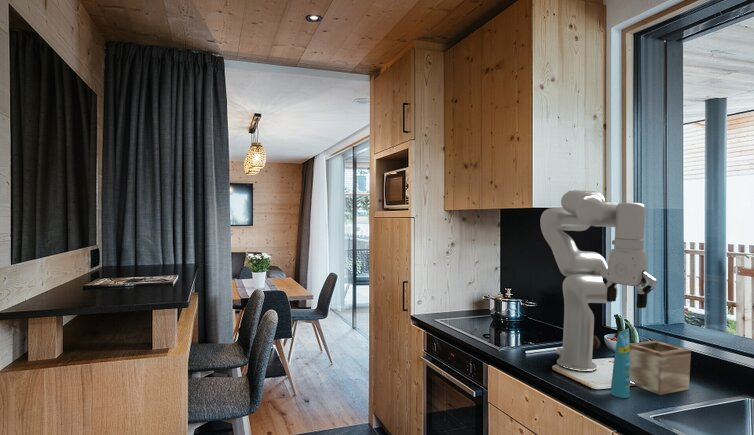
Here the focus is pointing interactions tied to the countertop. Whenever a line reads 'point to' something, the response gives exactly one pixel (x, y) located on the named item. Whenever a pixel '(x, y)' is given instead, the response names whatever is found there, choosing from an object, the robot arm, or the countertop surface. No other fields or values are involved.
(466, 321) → the countertop surface
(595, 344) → the brown oblong piece
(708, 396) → the countertop surface
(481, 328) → the countertop surface
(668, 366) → the box
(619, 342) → the tube
